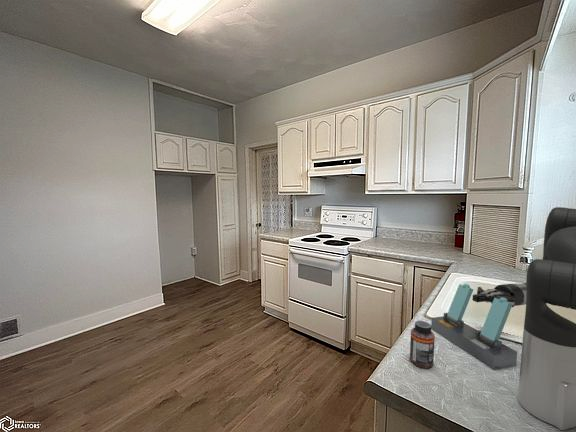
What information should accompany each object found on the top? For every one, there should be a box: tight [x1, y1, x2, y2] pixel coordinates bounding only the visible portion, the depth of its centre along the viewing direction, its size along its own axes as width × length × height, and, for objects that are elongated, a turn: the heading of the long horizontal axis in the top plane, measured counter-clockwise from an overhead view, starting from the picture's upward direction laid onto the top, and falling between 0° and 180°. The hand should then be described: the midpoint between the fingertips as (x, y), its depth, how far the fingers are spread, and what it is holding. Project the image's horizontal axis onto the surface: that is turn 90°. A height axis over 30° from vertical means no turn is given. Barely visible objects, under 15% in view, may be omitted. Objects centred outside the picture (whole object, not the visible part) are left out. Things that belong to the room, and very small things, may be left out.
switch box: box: [430, 312, 518, 370], centre depth 81 cm, size 22×8×6 cm, turn 13°
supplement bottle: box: [409, 320, 436, 369], centre depth 72 cm, size 6×6×11 cm
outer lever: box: [446, 283, 474, 325], centre depth 87 cm, size 4×2×14 cm, turn 13°
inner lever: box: [479, 297, 513, 346], centre depth 75 cm, size 4×2×14 cm, turn 13°
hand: (474, 298), depth 88 cm, fingers closed
